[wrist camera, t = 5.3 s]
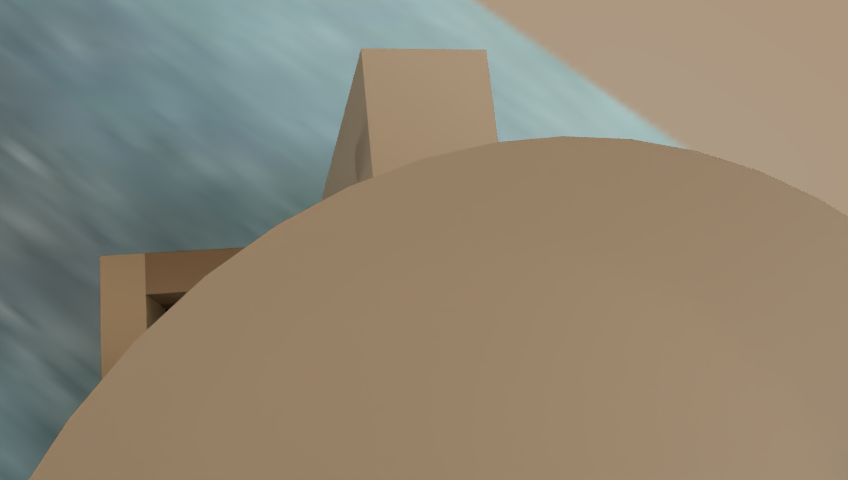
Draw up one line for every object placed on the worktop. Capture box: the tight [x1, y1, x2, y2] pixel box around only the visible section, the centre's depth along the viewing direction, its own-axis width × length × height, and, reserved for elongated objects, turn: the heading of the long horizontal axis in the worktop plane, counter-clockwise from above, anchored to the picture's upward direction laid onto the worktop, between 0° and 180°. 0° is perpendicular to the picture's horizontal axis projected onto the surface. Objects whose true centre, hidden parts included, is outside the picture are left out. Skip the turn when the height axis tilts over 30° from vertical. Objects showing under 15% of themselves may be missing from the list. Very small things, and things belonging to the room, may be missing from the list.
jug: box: [29, 49, 848, 480], centre depth 9 cm, size 8×6×12 cm
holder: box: [100, 248, 244, 380], centre depth 14 cm, size 9×9×2 cm
